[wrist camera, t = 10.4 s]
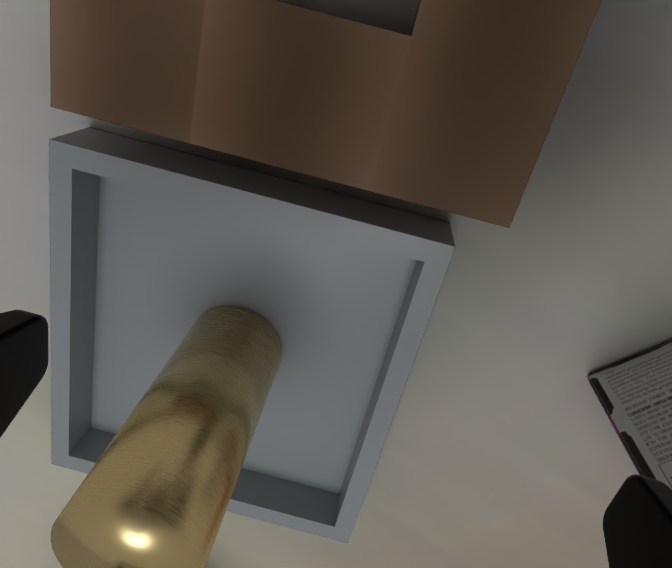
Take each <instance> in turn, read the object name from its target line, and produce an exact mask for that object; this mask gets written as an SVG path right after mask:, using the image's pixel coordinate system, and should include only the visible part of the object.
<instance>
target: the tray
mask: <svg viewBox="0 0 672 568" xmlns="http://www.w3.org/2000/svg"><path fill="white" fill-rule="evenodd" d="M49 197H50V327H51V458H52V464H54V465H58V466H61V467H65V468H69V469H73V470H76V471H80V472H84V473H87V474H89V472H90V471H91V469H92V468H93V467H94V465H95V464H96V462H97V461H98V459H99V458H100V457H101V455H102V454H103V452H104V451H105V450H106V448H107V447H108V445H109V444H110V442H111V441H112V440H113V438H114V437H115V435H116V434H117V432H118V431H119V430H120V428H121V427H122V425H123V424H124V423H125V421H126V420H127V418H128V417H129V415H130V414H131V413H132V411H133V410H134V408H135V407H136V405H137V404H138V403H139V401H140V400H141V398H142V397H143V396H144V394H145V393H146V391H147V390H148V388H149V387H150V386H151V384H152V383H153V381H154V380H155V378H156V377H157V376H158V374H159V373H160V371H161V370H162V369H163V367H164V366H165V364H166V363H167V361H168V360H169V359H170V357H171V356H172V354H173V353H174V351H175V350H176V349H177V347H178V346H179V344H180V343H181V342H182V340H183V339H184V337H185V336H186V334H187V333H188V332H189V330H190V329H191V327H192V326H193V324H194V323H195V322H196V320H197V319H198V318H199V317H200V316H201V315H202V314H203V313H205V312H206V311H208V310H210V309H212V308H215V307H219V306H227V305H231V306H240V307H244V308H247V309H250V310H252V311H254V312H256V313H258V314H260V315H261V316H262V317H264V318H265V319H266V320H267V321H268V322H269V323H270V324H271V325H272V326H273V327H274V329H275V330H276V332H277V334H278V336H279V338H280V341H281V344H282V359H281V362H280V365H279V368H278V371H277V373H276V376H275V379H274V381H273V384H272V387H271V389H270V392H269V395H268V398H267V400H266V403H265V406H264V408H263V411H262V414H261V417H260V419H259V422H258V425H257V427H256V430H255V433H254V435H253V438H252V441H251V444H250V446H249V449H248V452H247V454H246V457H245V460H244V463H243V465H242V468H241V471H240V473H239V476H238V479H237V481H236V484H235V487H234V490H233V492H232V495H231V498H230V500H229V503H228V506H227V509H226V511H229V512H233V513H237V514H240V515H244V516H248V517H252V518H255V519H259V520H263V521H267V522H270V523H274V524H278V525H281V526H285V527H289V528H293V529H296V530H300V531H304V532H308V533H311V534H315V535H319V536H322V537H326V538H330V539H334V540H337V541H341V542H345V543H348V541H349V538H350V536H351V533H352V530H353V527H354V525H355V522H356V519H357V516H358V514H359V511H360V508H361V505H362V503H363V500H364V497H365V494H366V492H367V489H368V486H369V483H370V480H371V478H372V475H373V472H374V469H375V467H376V464H377V461H378V458H379V456H380V453H381V450H382V447H383V445H384V442H385V439H386V436H387V434H388V431H389V428H390V425H391V423H392V420H393V417H394V414H395V412H396V409H397V406H398V403H399V401H400V398H401V395H402V392H403V390H404V387H405V384H406V381H407V379H408V376H409V373H410V370H411V368H412V365H413V362H414V359H415V357H416V354H417V351H418V348H419V346H420V343H421V340H422V337H423V335H424V332H425V329H426V326H427V324H428V321H429V318H430V315H431V313H432V310H433V307H434V304H435V302H436V299H437V296H438V293H439V290H440V288H441V285H442V282H443V279H444V277H445V274H446V271H447V268H448V266H449V263H450V260H451V257H452V255H453V252H454V249H455V243H454V239H453V235H452V231H451V227H450V223H448V222H444V221H441V220H437V219H433V218H429V217H425V216H422V215H418V214H414V213H410V212H407V211H403V210H399V209H395V208H391V207H388V206H384V205H380V204H376V203H372V202H369V201H365V200H361V199H357V198H354V197H350V196H346V195H342V194H338V193H335V192H331V191H327V190H323V189H320V188H316V187H312V186H308V185H304V184H301V183H297V182H293V181H289V180H286V179H282V178H278V177H274V176H270V175H267V174H263V173H259V172H255V171H252V170H248V169H244V168H240V167H236V166H233V165H229V164H225V163H221V162H218V161H214V160H210V159H206V158H202V157H199V156H195V155H191V154H187V153H184V152H180V151H176V150H172V149H168V148H165V147H161V146H157V145H153V144H150V143H146V142H142V141H138V140H134V139H131V138H127V137H123V136H119V135H116V134H112V133H108V132H104V131H100V130H97V129H93V128H86V129H82V130H79V131H76V132H72V133H69V134H65V135H62V136H58V137H55V138H52V139H49Z"/></svg>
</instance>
